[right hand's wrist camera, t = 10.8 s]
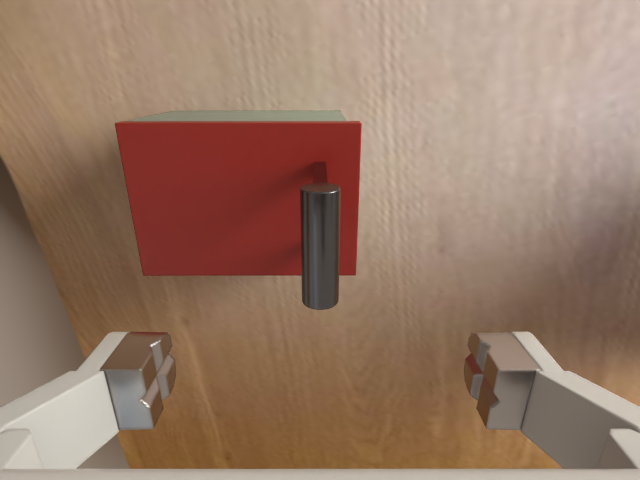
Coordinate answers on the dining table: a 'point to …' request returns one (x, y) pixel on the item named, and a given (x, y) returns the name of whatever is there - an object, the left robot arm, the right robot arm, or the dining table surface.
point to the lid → (246, 199)
